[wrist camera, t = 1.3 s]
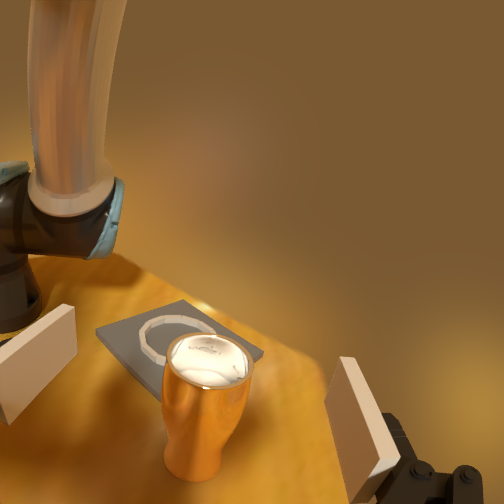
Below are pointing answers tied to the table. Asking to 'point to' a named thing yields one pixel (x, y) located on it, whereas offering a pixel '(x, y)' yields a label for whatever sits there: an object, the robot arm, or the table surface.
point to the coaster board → (159, 339)
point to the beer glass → (202, 401)
